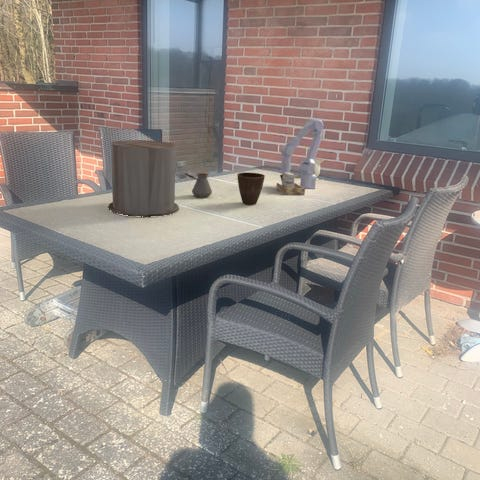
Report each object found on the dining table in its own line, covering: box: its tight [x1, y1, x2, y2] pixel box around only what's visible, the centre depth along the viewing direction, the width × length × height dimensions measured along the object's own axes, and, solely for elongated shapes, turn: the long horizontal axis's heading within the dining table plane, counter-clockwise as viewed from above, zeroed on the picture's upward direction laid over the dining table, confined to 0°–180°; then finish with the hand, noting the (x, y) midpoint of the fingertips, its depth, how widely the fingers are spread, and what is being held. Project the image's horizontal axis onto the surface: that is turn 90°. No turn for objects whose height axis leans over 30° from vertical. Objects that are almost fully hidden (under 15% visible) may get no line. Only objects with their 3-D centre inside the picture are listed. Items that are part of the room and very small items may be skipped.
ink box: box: [281, 171, 296, 188], centre depth 312 cm, size 8×5×12 cm, turn 17°
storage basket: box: [107, 139, 180, 218], centre depth 249 cm, size 35×35×32 cm
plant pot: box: [236, 172, 266, 206], centre depth 274 cm, size 15×15×16 cm
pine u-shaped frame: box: [275, 182, 306, 196], centre depth 313 cm, size 13×17×4 cm
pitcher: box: [299, 158, 325, 179], centre depth 365 cm, size 11×18×14 cm, turn 64°
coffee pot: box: [182, 172, 213, 199], centre depth 281 cm, size 21×12×15 cm, turn 144°
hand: (284, 186), depth 323 cm, fingers closed
